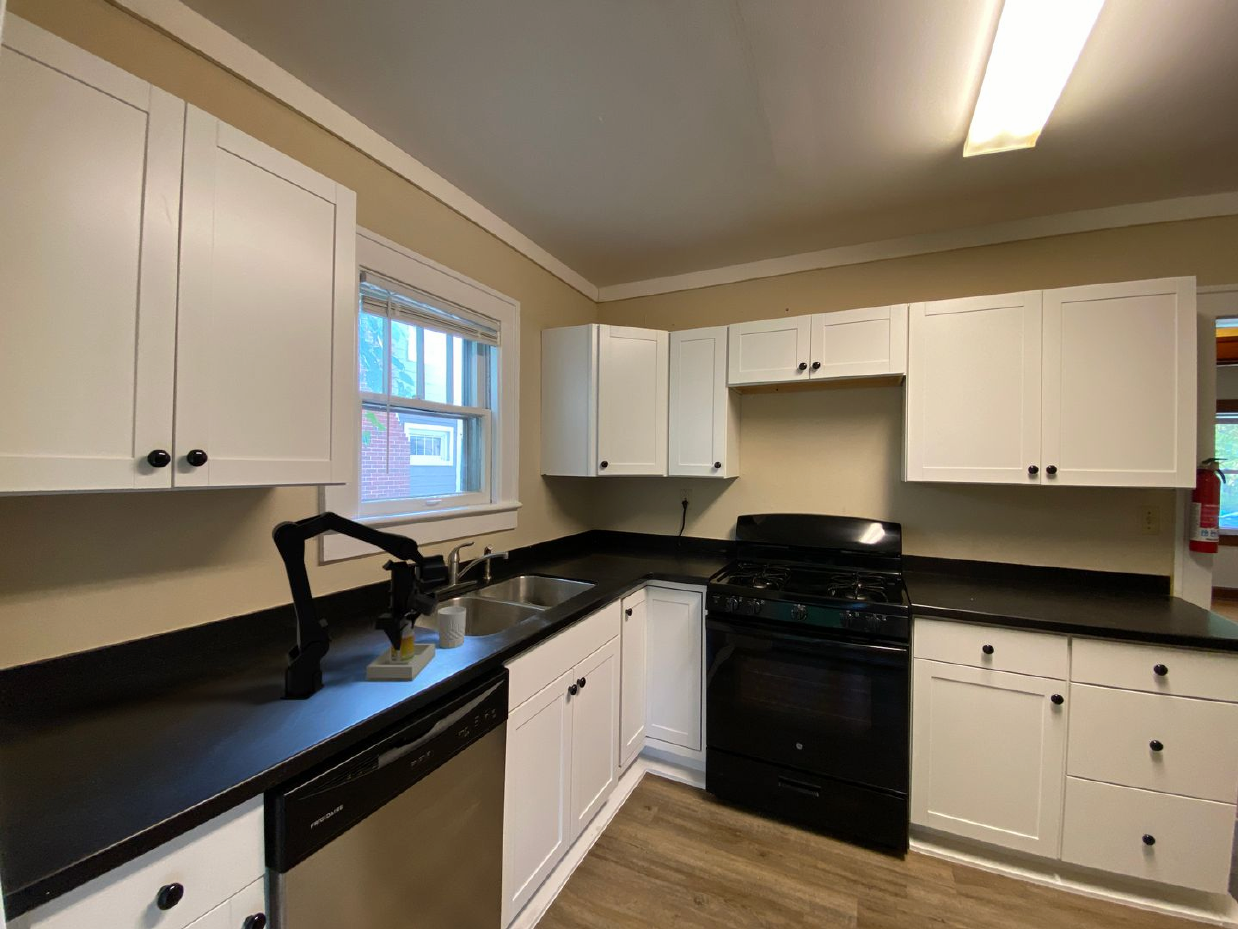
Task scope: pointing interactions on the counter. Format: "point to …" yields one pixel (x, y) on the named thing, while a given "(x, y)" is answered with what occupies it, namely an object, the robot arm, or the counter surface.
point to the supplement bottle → (404, 646)
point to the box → (400, 665)
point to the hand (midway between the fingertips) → (402, 646)
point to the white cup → (451, 626)
